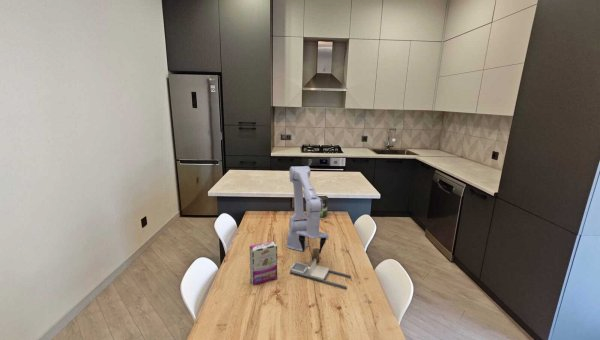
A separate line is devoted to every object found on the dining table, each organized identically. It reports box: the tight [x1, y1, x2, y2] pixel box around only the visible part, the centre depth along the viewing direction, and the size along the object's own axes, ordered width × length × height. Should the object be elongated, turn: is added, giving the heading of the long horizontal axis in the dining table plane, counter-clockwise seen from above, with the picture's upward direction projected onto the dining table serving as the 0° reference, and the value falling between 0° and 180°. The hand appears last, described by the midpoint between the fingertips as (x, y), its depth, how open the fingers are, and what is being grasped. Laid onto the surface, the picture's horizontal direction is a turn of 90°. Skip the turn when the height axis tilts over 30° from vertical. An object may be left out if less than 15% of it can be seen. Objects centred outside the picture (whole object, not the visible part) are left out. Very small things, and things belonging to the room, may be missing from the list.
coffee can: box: [317, 195, 329, 220], centre depth 192 cm, size 10×10×14 cm
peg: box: [311, 247, 320, 264], centre depth 138 cm, size 4×4×6 cm
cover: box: [307, 259, 330, 280], centre depth 127 cm, size 8×9×4 cm
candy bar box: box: [249, 240, 278, 286], centre depth 122 cm, size 11×5×16 cm, turn 117°
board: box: [289, 261, 352, 290], centre depth 127 cm, size 27×9×2 cm, turn 68°
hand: (311, 251), depth 131 cm, fingers open, 7 cm apart
